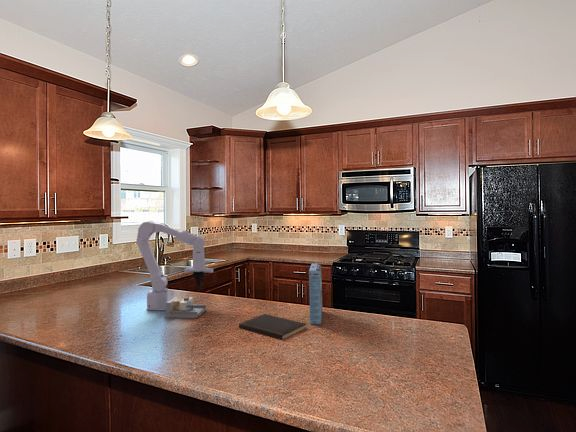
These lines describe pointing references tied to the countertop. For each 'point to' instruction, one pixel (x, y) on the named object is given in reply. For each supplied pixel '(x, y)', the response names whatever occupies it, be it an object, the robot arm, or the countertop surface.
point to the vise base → (192, 313)
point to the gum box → (315, 293)
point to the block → (177, 304)
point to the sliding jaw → (186, 304)
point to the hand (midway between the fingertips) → (199, 286)
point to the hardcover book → (272, 326)
